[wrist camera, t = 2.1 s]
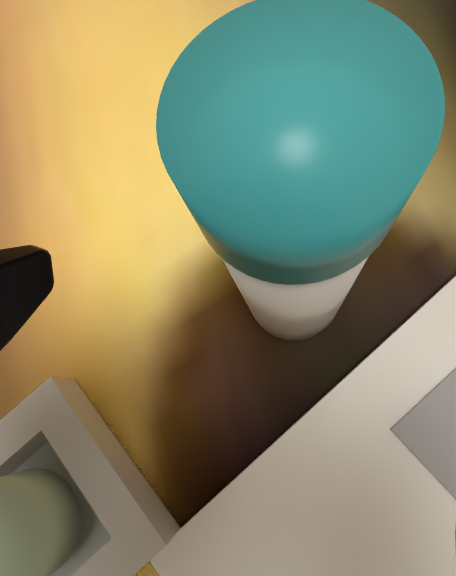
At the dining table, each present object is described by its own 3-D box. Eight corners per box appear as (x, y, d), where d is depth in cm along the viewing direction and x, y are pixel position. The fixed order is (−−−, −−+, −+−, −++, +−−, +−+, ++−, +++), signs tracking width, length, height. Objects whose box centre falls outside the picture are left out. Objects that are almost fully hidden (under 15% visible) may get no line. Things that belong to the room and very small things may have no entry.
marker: (291, 363, 18) (285, 303, 6) (228, 293, 19) (104, 113, 7) (362, 298, 18) (513, 97, 6) (295, 233, 19) (298, -51, 7)
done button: (20, 603, 16) (-41, 650, 13) (-30, 513, 17) (-96, 538, 14) (99, 531, 16) (57, 561, 13) (45, 447, 17) (-5, 458, 14)
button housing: (31, 665, 17) (-3, 701, 15) (-61, 496, 19) (-101, 508, 17) (180, 528, 17) (166, 545, 15) (73, 377, 19) (49, 376, 17)
